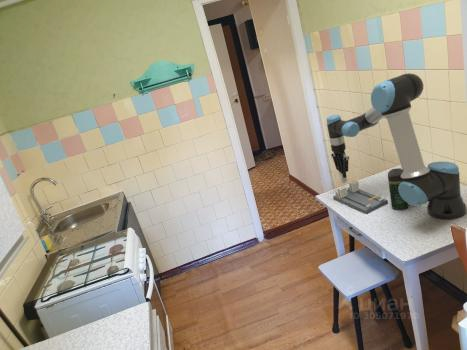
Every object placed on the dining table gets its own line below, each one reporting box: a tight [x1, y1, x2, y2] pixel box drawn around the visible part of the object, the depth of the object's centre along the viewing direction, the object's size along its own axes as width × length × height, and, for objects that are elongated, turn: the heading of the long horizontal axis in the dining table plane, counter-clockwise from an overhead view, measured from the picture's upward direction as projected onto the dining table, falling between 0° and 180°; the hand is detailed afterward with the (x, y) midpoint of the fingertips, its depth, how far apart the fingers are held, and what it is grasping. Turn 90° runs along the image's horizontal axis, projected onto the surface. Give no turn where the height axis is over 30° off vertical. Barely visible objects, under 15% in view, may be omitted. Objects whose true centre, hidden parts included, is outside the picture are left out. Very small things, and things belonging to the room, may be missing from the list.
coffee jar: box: [387, 167, 410, 211], centre depth 181 cm, size 10×8×19 cm
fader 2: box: [348, 179, 361, 193], centre depth 205 cm, size 3×4×5 cm
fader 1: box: [336, 185, 348, 198], centre depth 203 cm, size 3×4×5 cm
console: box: [332, 187, 389, 215], centre depth 198 cm, size 26×14×3 cm, turn 22°
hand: (344, 182), depth 212 cm, fingers closed
